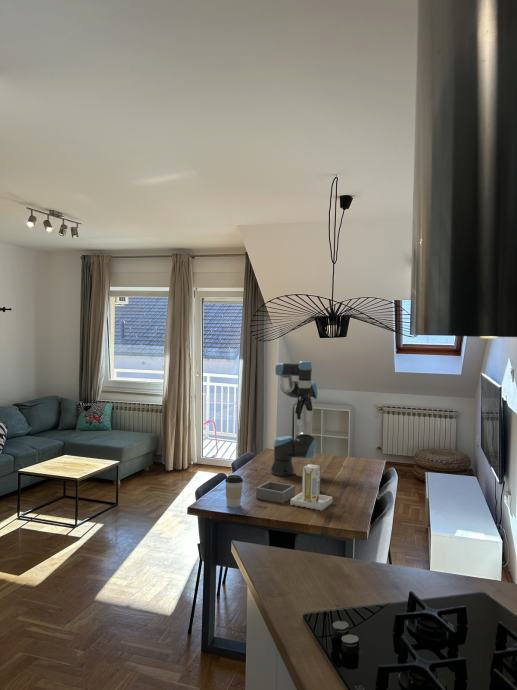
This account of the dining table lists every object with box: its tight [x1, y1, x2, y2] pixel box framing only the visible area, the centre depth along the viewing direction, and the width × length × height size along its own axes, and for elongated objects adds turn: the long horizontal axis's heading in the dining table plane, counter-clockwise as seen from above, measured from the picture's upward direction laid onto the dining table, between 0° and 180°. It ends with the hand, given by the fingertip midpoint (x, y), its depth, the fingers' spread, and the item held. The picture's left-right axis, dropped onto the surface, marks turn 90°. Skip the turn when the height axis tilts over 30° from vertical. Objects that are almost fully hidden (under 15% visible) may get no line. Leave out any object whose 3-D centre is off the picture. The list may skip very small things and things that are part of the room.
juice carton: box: [301, 463, 321, 503], centre depth 254 cm, size 8×9×19 cm
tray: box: [289, 491, 333, 512], centre depth 255 cm, size 17×16×3 cm
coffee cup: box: [224, 474, 244, 508], centre depth 250 cm, size 9×9×15 cm
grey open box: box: [255, 480, 296, 504], centre depth 265 cm, size 16×15×6 cm
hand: (303, 423), depth 290 cm, fingers open, 13 cm apart
